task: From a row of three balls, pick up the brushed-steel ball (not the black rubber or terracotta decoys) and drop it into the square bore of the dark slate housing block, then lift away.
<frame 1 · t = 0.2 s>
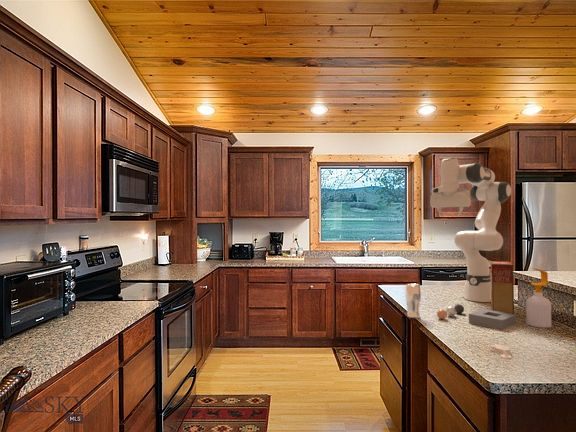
hand: (449, 216, 197), 47 cm above the worktop, tool pointing down, fingers open, 8 cm apart
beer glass: (413, 317, 181), on the worktop
terracotta ball: (442, 319, 176), on the worktop
brush: (500, 354, 132), on the worktop
housing: (492, 323, 168), on the worktop
black rubber ball: (459, 313, 186), on the worktop
food packaging: (502, 315, 182), on the worktop
steel ball: (450, 316, 181), on the worktop
soap bottle: (538, 325, 165), on the worktop
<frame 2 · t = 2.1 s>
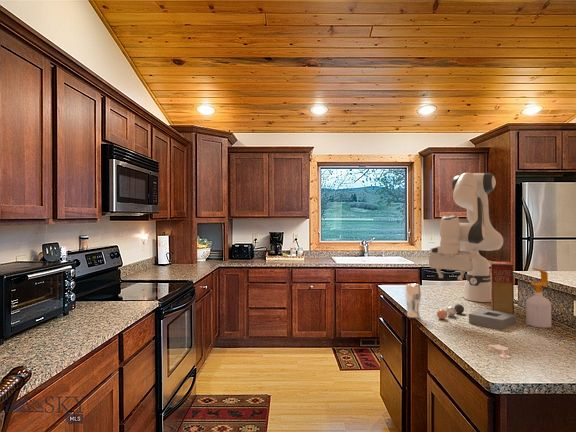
hand: (450, 279, 181), 18 cm above the worktop, tool pointing down, fingers open, 8 cm apart
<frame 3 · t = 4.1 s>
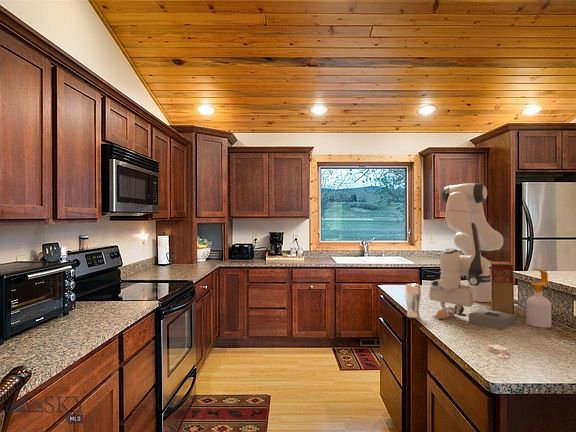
hand: (450, 312, 181), 2 cm above the worktop, tool pointing down, fingers closed on steel ball, 4 cm apart
steel ball: (450, 316, 181), on the worktop, touching gripper
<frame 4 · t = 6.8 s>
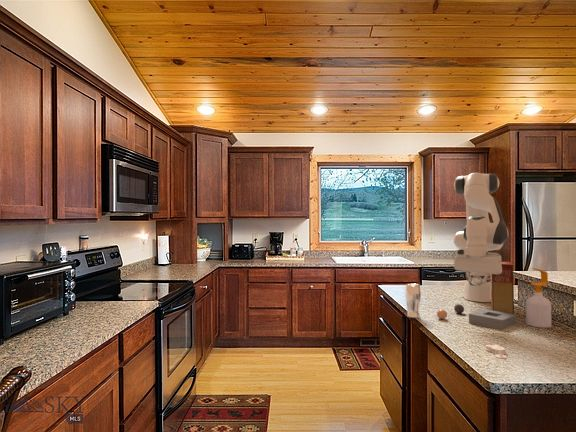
hand: (477, 282, 172), 17 cm above the worktop, tool pointing down, fingers closed on steel ball, 4 cm apart
steel ball: (477, 285, 172), point 16 cm above the worktop, touching gripper
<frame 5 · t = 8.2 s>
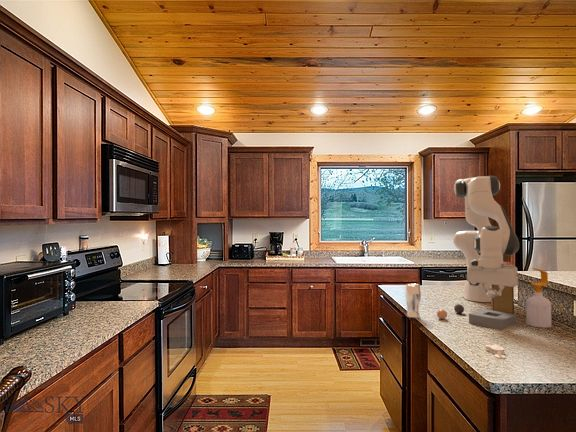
hand: (491, 294, 168), 13 cm above the worktop, tool pointing down, fingers closed on steel ball, 4 cm apart
steel ball: (491, 298, 168), point 11 cm above the worktop, touching gripper
when the fingers open (8 cm above the worktop, at t = 9.5 s): steel ball drops 6 cm, resting in housing.
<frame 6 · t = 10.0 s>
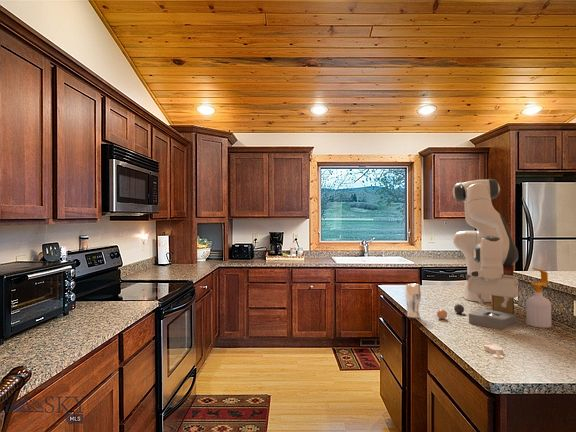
hand: (492, 305, 167), 8 cm above the worktop, tool pointing down, fingers open, 8 cm apart
food packaging: (502, 315, 182), on the worktop, touching arm
steel ball: (492, 323, 167), resting in housing, tilted 8°
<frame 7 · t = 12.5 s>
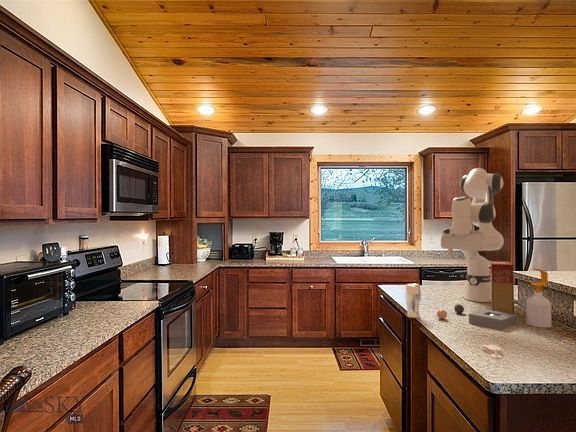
hand: (462, 259, 184), 27 cm above the worktop, tool pointing down, fingers open, 8 cm apart
food packaging: (502, 315, 182), on the worktop
steel ball: (492, 323, 167), resting in housing, tilted 13°
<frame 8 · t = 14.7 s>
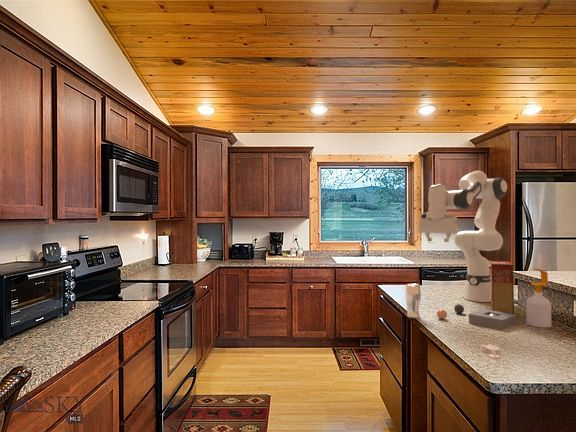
hand: (437, 241, 199), 34 cm above the worktop, tool pointing down, fingers open, 8 cm apart
at the end: steel ball 0.8 cm off-centre on the housing, point 0.0 cm above the housing's base; the gripper is holding nothing; black rubber ball moved 0.0 cm from its start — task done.
